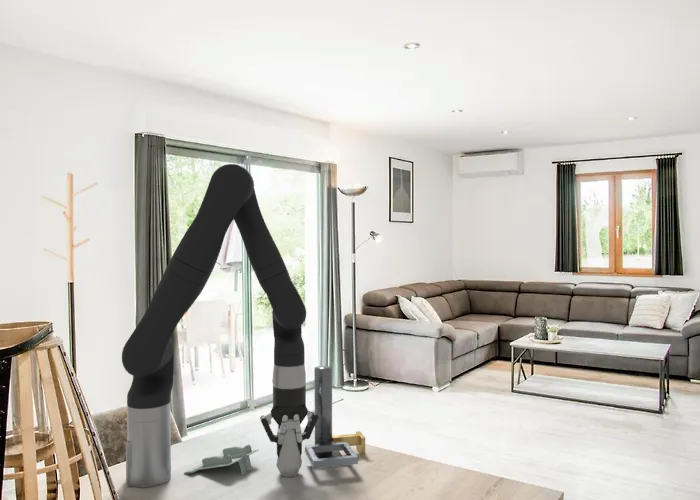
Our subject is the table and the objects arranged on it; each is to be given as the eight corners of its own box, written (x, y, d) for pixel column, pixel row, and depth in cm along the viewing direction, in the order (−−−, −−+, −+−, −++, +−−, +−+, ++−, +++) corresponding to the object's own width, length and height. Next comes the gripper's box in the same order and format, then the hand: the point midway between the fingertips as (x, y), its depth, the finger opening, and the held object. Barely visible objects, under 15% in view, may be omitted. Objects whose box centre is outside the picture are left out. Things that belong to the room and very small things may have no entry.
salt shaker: (292, 466, 137) (292, 412, 137) (306, 474, 133) (306, 417, 133) (271, 473, 133) (271, 416, 133) (285, 480, 129) (285, 422, 129)
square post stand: (313, 478, 130) (313, 381, 130) (300, 451, 147) (300, 365, 147) (378, 471, 134) (378, 377, 134) (358, 446, 151) (358, 362, 151)
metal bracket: (264, 438, 141) (224, 459, 128) (270, 462, 140) (230, 485, 127) (221, 446, 147) (178, 466, 134) (226, 469, 147) (183, 491, 133)
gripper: (260, 389, 127) (260, 467, 128) (322, 385, 131) (322, 461, 131) (256, 381, 135) (257, 455, 135) (316, 377, 138) (316, 449, 138)
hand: (289, 457), depth 133 cm, fingers closed on salt shaker, 3 cm apart
